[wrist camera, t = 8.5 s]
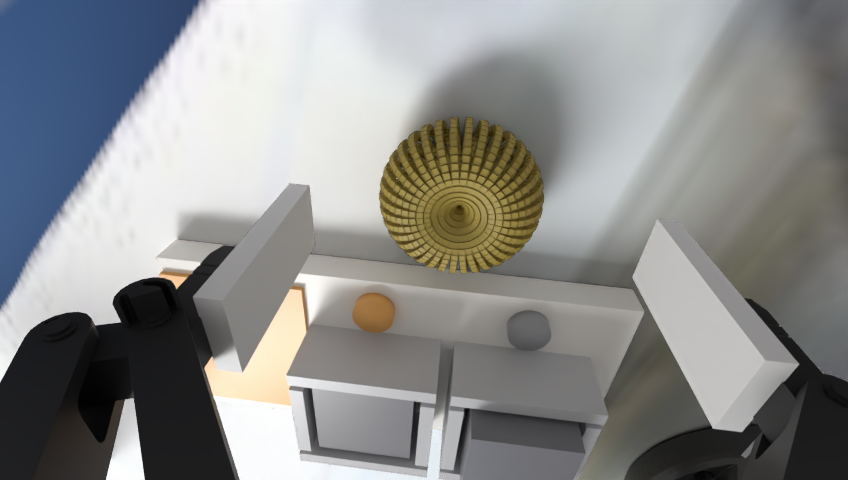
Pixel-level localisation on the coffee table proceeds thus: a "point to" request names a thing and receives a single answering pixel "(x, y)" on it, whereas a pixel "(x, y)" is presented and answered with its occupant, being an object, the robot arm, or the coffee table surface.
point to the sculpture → (461, 196)
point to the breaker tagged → (364, 423)
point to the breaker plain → (519, 447)
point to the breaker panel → (428, 349)
